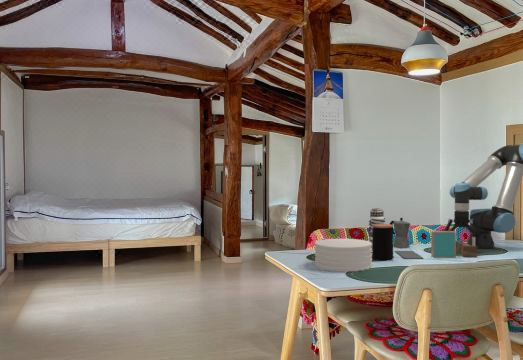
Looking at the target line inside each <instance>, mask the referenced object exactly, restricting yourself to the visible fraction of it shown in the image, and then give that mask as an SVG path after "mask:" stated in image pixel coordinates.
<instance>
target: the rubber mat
mask: <svg viewBox="0 0 523 360" xmlns="http://www.w3.org/2000/svg"><path fill="white" fill-rule="evenodd" d="M394 252H395V254H397V255H398V256H400V257H401V258H402V259H403V260H424V257H423V256H422V255H419V254H418V253H417V252H415V251H414V250H394Z"/></svg>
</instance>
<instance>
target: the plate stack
mask: <svg viewBox="0 0 523 360" xmlns="http://www.w3.org/2000/svg"><path fill="white" fill-rule="evenodd" d="M314 246H315V247H314V251H315V252H314V256H315V257H314V261H315V263H314V266H315V265H316V266H317V267H316V266H315V267H316V268H318V267H319V269H321V268H322V269H321V270H325V269H326V270H325V271H331V270H332V272H358V271H359V270H361V271H365V269H367V270H369V268H370V269H372V267H373V263H372V261H373V253H372V248H371V247H372V243H371V241H370V240H369V241H368V240H364V239H357V238H326V239H320V240H316V241H314ZM359 272H360V271H359Z"/></svg>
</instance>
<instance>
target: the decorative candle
mask: <svg viewBox="0 0 523 360" xmlns="http://www.w3.org/2000/svg"><path fill="white" fill-rule="evenodd" d="M369 212H370V216H369V219H370V220H369V221H368V222H369V223H368V225H369V232H370V237H369V242H371V243H372V247H371V248H372V251H373V237H372V230H373V226H372V225H374V224H384V223H386V218H385V215H384V214H385V211H384V210H383V209H382V208H378V207H377V208H375V207H373V208H371V210H370V211H369Z"/></svg>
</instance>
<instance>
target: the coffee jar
mask: <svg viewBox="0 0 523 360" xmlns="http://www.w3.org/2000/svg"><path fill="white" fill-rule="evenodd" d="M372 226H373V230H372V237H373V253H372V259H374V258H375V259H374V260H376V259H379V260H378V261H392V259H393V258H394V234H393V229H394V224H393V225H390V223H388V224H387V223H383V224H374V225H372ZM392 227H393V229H392Z"/></svg>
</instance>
